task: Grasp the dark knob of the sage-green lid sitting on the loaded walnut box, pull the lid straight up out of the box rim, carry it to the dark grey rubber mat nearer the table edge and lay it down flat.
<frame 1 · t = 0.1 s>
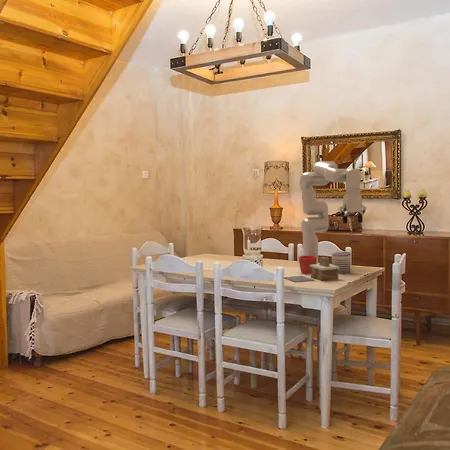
hand: (352, 222, 284), 31 cm above the table, tool pointing down, fingers open, 9 cm apart
box: (324, 278, 289), on the table
mat: (298, 279, 288), on the table
flower pot: (307, 273, 308), on the table
can: (341, 273, 307), on the table
lid: (324, 267, 289), point 6 cm above the table, touching box
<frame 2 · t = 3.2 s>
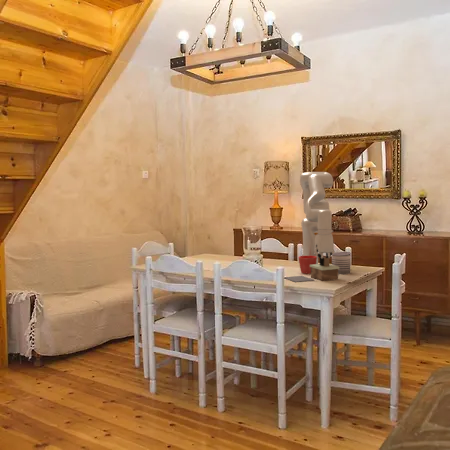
hand: (324, 264, 289), 8 cm above the table, tool pointing down, fingers closed on lid, 2 cm apart
lid: (324, 267, 289), point 6 cm above the table, touching gripper
everything else where it was.
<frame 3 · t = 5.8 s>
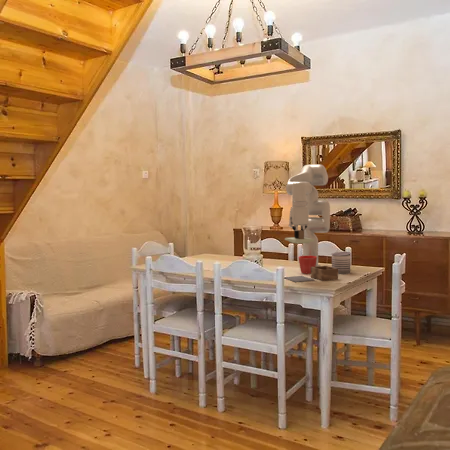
hand: (299, 237, 286), 23 cm above the table, tool pointing down, fingers closed on lid, 2 cm apart
lid: (299, 240, 286), point 22 cm above the table, touching gripper
everything else where it was.
when the fingers open (5 cm above the table, at t = 8.6 s): lid drops 2 cm, resting on mat.
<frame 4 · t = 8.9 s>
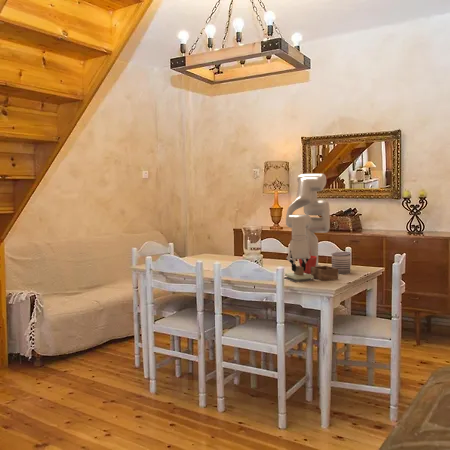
hand: (298, 270, 287), 5 cm above the table, tool pointing down, fingers open, 5 cm apart
lid: (298, 276, 288), point 1 cm above the table, touching mat
everything else where it was.
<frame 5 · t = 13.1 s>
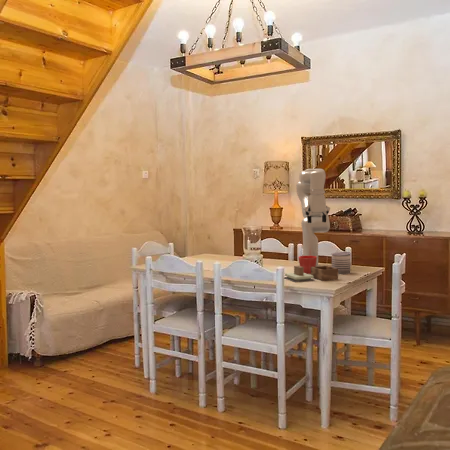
hand: (316, 222, 300), 30 cm above the table, tool pointing down, fingers open, 9 cm apart
nothing on the table moved.
at the end: lid inside the target area on the mat (0.1 cm from its centre), point 1.4 cm above the mat's base; lid tilted 0°; the gripper is holding nothing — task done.
